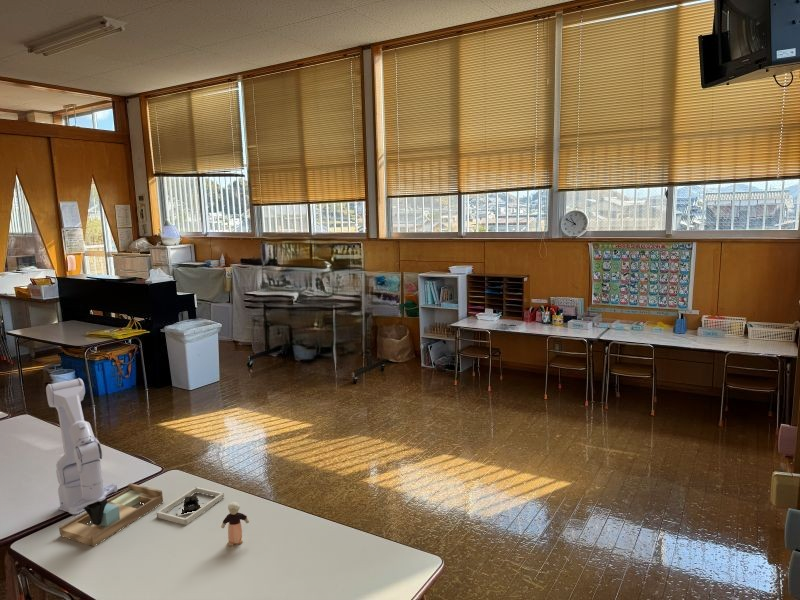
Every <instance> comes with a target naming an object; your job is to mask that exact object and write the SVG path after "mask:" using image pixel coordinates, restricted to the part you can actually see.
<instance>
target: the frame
mask: <svg viewBox="0 0 800 600" xmlns="http://www.w3.org/2000/svg"><path fill="white" fill-rule="evenodd" d="M195 492H199V493H204V494H208V495H213V496H217V497H213V498H212V499H211V500H210V501H208V502H206V503H207V504H206V505H204V506H203V507H201V508H200V509H198V510H197V511H196V512H194V513H193V514H189V515H187V517H186V518H185V517H181V516H176V515H173V514H170V513H168V512H170V511H171V510H172V509H171V508H173V507H174V506H176V505H177V504H179V503H180V502H182V501H183V500H184V499H185V497H189V496H191V495H192V494H193V493H195ZM199 493H198V494H199ZM195 494H196V493H195ZM204 494H203V495H204ZM208 495H207V496H208ZM192 496H193V495H192ZM223 497H224V498H225V494H224V493H223V492H219V491H215V490H212V489H207V488H202V487H198V486H195V487H193V488H192V489H190V490H188V491H187V492H185V493H184V494H183V495H181V496H180V497H178V498H176V499H175V500H173V501H172V502H170V503H169V504H166V505H165V506H163V507H162V508H160V509H159V510H158V511H156V512H155V513H156V518H157V517H158V518H157V519H161V520H165V521H170V522H173V523H176V524H179V525H184V526H187V525H188V524H190V523H191V522H193V521H195V520H196V519H197V518H199V517H200V516H201V515H202V513H203V512H204V511H205V512H207V511H208V510H210V509H211V508H212V507H214V506H215V505H216V504H215V503H216V502H218V501H219V500H221V499H222V498H223ZM222 500H223V499H222ZM222 500H221V501H222ZM183 502H184V501H183ZM183 502H182V503H183ZM219 502H220V501H219ZM219 502H218V503H219ZM180 504H181V503H180ZM180 504H179V505H180ZM214 504H215V505H214ZM213 505H214V506H213ZM177 506H178V505H177ZM177 506H176V507H177ZM211 506H212V507H211ZM210 507H211V508H210ZM174 508H175V507H174ZM174 508H173V509H174ZM209 508H210V509H209ZM170 509H171V510H170ZM207 509H208V510H207ZM169 510H170V511H169ZM206 510H207V511H206ZM167 511H168V512H167ZM205 512H204V513H205ZM204 513H203V514H204ZM200 514H201V515H200ZM199 515H200V516H199ZM195 518H196V519H195Z"/></svg>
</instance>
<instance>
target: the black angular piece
mask: <svg viewBox="0 0 800 600" xmlns="http://www.w3.org/2000/svg"><path fill="white" fill-rule="evenodd" d="M199 501H200V500H199V498H198V495H196V494H194V495H192V496H189V497H185V500H184V501H183V507H184V510H183V509H182V513H181V514H184V513H187V512H192V511H197V510H198V509H200V508H201V507H200V505H199V504H200V503H199Z"/></svg>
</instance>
